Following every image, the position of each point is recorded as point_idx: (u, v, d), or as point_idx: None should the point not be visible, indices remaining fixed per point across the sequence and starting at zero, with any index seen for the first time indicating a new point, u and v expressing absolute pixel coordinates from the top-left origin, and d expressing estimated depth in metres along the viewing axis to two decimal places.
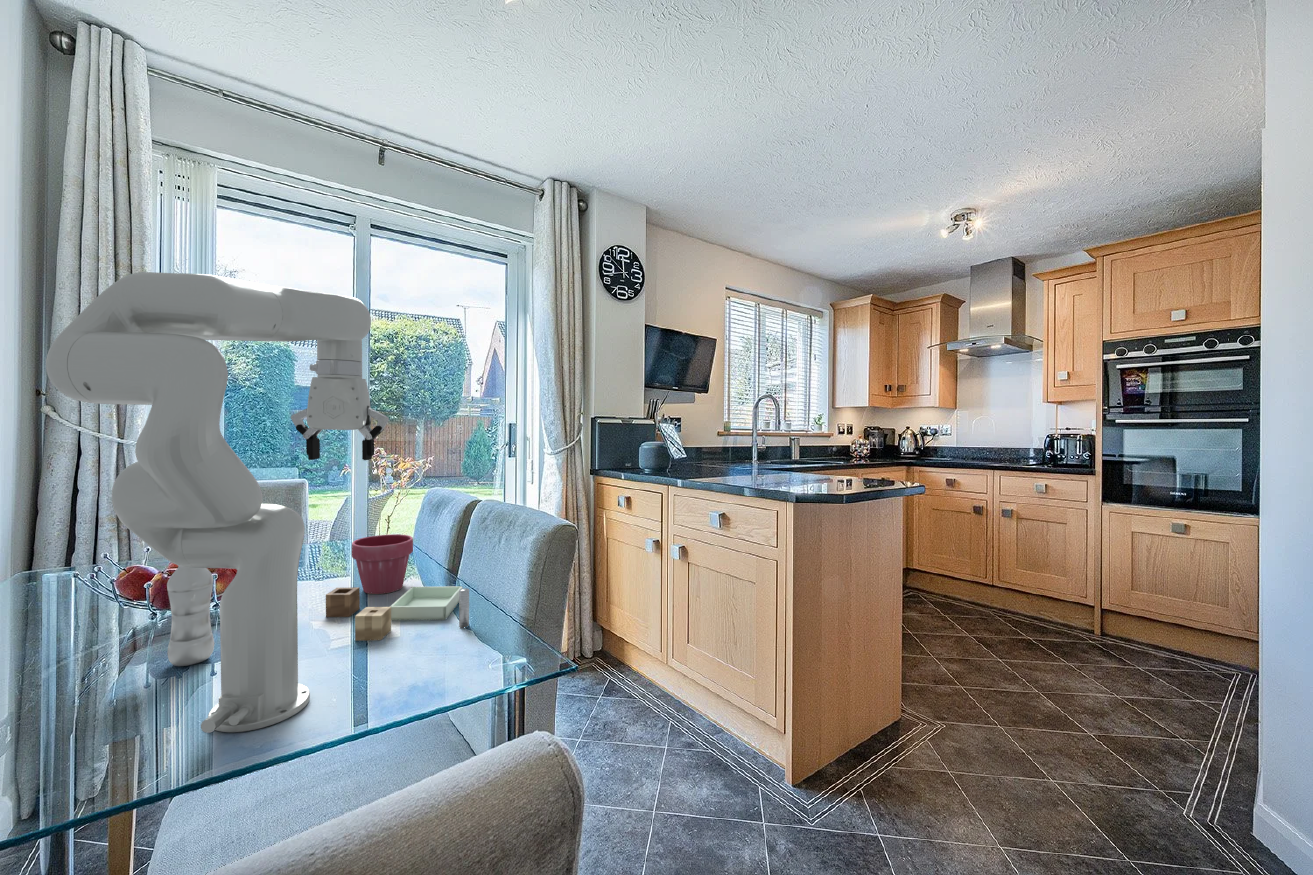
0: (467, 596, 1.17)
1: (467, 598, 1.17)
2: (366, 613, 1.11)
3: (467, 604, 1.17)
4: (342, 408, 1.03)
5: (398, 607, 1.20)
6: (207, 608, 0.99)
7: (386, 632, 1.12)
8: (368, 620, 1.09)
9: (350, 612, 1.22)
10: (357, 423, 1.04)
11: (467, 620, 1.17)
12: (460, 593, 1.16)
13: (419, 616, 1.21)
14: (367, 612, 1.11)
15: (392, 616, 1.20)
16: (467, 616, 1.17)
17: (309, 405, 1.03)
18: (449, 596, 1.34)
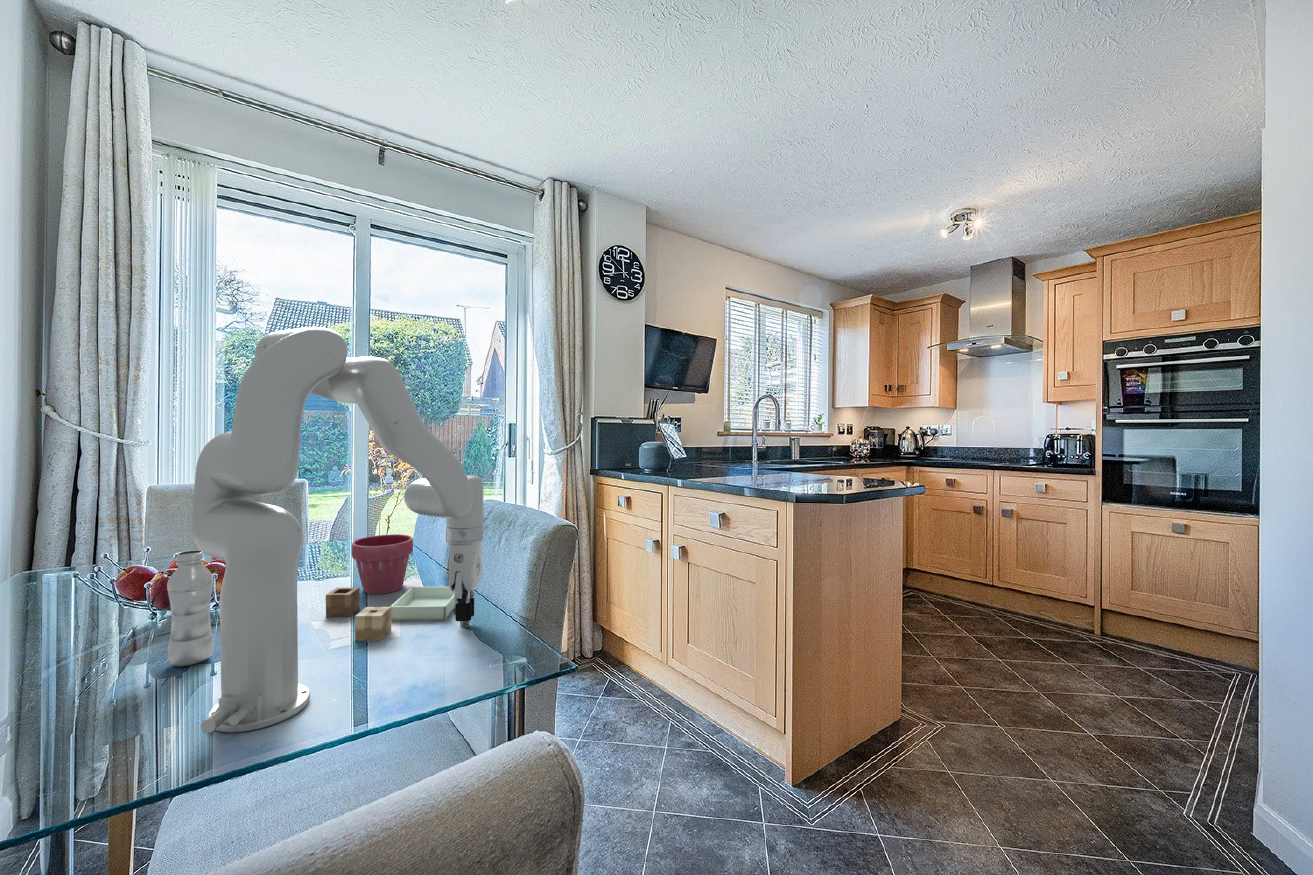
0: None
1: None
2: (366, 613, 1.11)
3: None
4: (479, 564, 1.19)
5: (398, 607, 1.20)
6: (207, 608, 0.99)
7: (386, 632, 1.12)
8: (368, 620, 1.09)
9: (350, 612, 1.22)
10: (482, 573, 1.22)
11: None
12: None
13: (419, 616, 1.21)
14: (367, 612, 1.11)
15: (392, 616, 1.20)
16: None
17: (471, 570, 1.13)
18: (449, 596, 1.34)
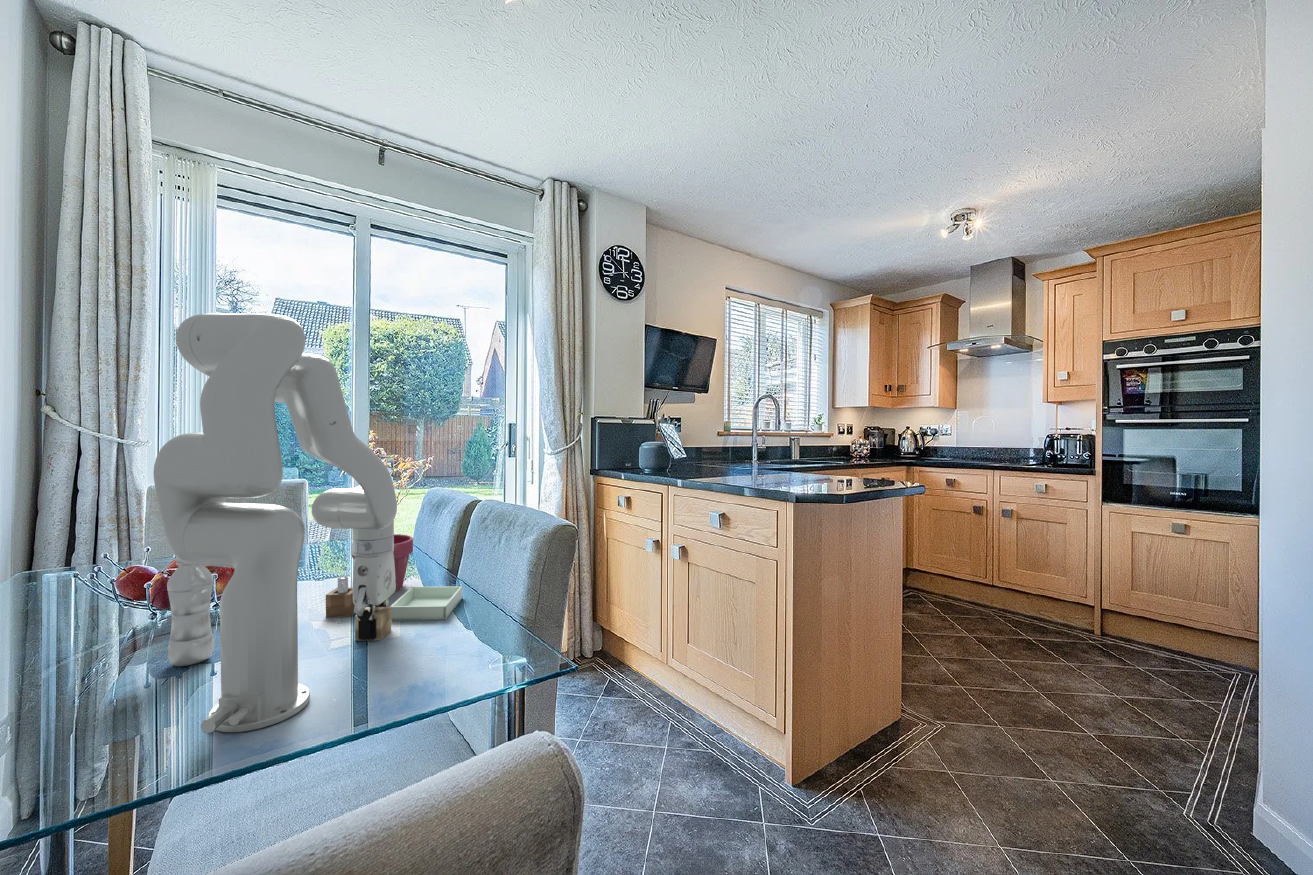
0: (345, 584, 1.23)
1: (345, 586, 1.23)
2: None
3: (345, 591, 1.23)
4: (390, 577, 1.13)
5: (398, 607, 1.20)
6: (207, 608, 0.99)
7: (386, 632, 1.12)
8: None
9: (350, 612, 1.22)
10: (395, 587, 1.16)
11: None
12: (338, 581, 1.23)
13: (419, 616, 1.21)
14: None
15: (392, 616, 1.20)
16: None
17: (377, 584, 1.07)
18: (449, 596, 1.34)
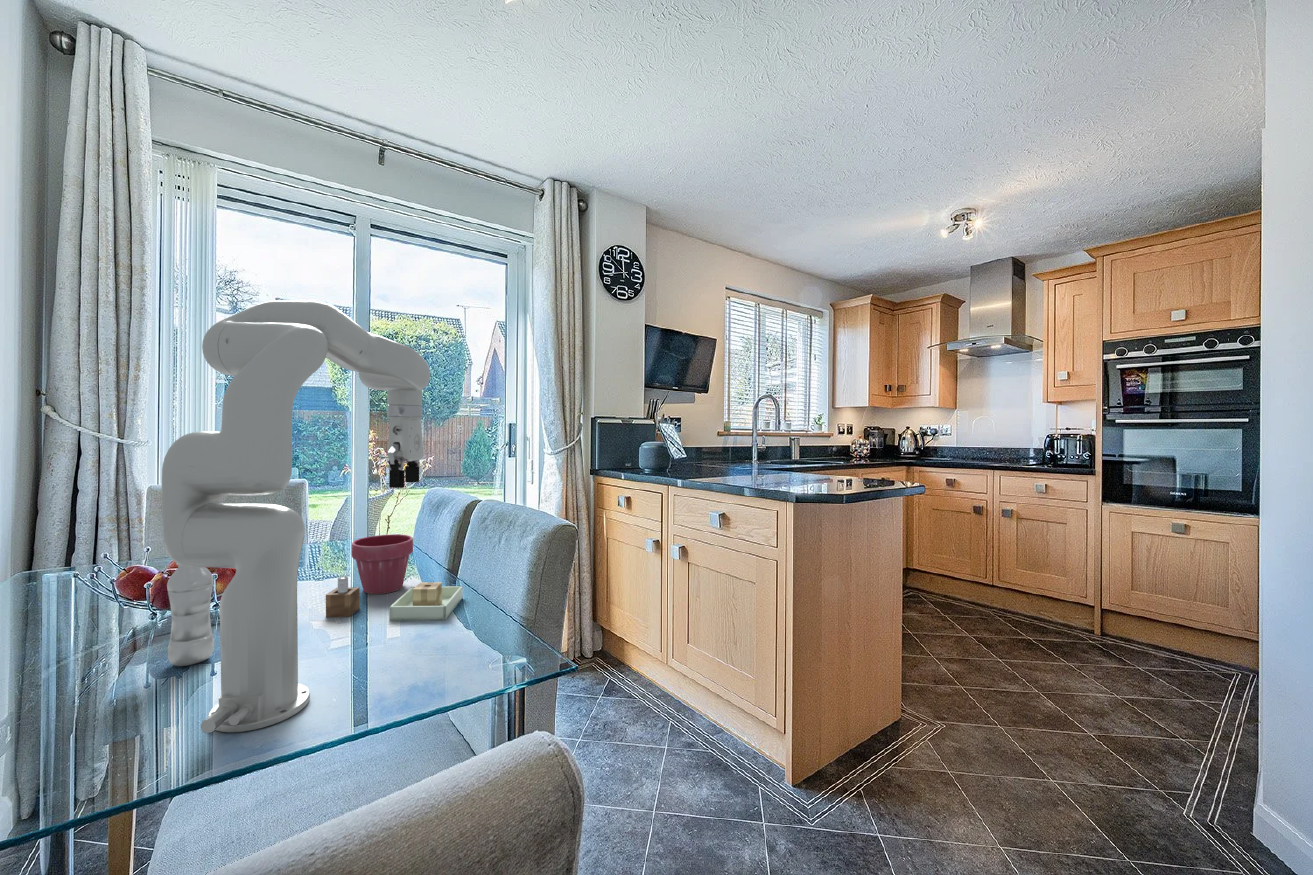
0: (345, 584, 1.23)
1: (345, 586, 1.23)
2: (422, 587, 1.26)
3: (345, 591, 1.23)
4: (419, 443, 1.32)
5: (398, 607, 1.20)
6: (207, 608, 0.99)
7: (439, 604, 1.28)
8: (424, 593, 1.25)
9: (350, 612, 1.22)
10: (422, 453, 1.35)
11: None
12: (338, 581, 1.23)
13: (419, 616, 1.21)
14: (422, 586, 1.26)
15: (392, 616, 1.20)
16: None
17: (409, 442, 1.26)
18: (449, 596, 1.34)
